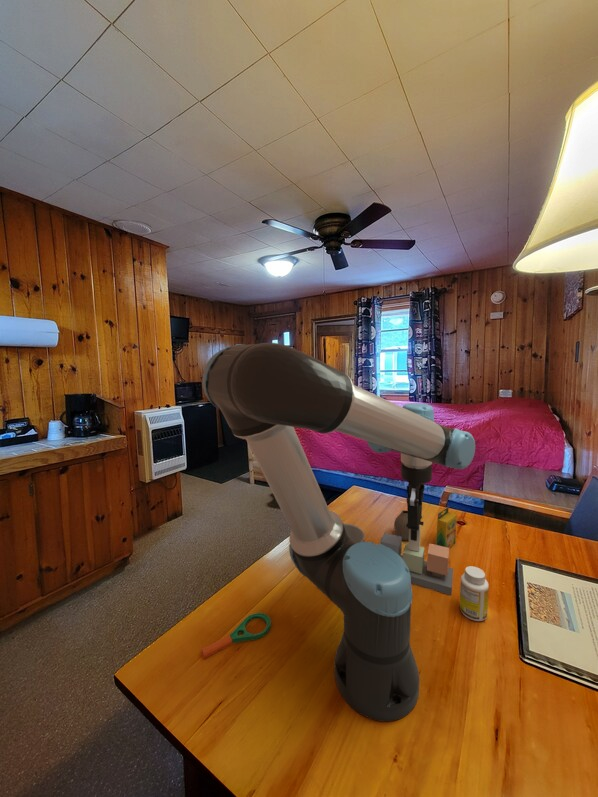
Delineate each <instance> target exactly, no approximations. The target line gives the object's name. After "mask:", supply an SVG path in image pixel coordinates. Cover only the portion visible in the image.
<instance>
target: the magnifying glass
mask: <svg viewBox="0 0 598 797" xmlns="http://www.w3.org/2000/svg"><path fill="white" fill-rule="evenodd" d="M257 619H258V620H263V621H264V622H265V624H266V626H265V628H264V630H262V631H260V632H259V633H250V632H249V631H247V629H246V627H247V625H248V623H249V622H251V621H252V620H257ZM271 627H272V620H271V618H270V617H269V615H267V614H266V613H264V612H256V613H251V614H249V615H248V616H246V617H245V618H244V619H243V620H242V622H240V623H239V625H237V627H236V628H235V629H234V630H233V631H232V632H231V633H230V634H229V635H226V636H224V637H223V638H220V639H218V640H216V641H214V642H213V643H210V644H208V645H206V646H204V647H202V648H201V651H200V652H201V655H202V657H203V659H204V660H205V659H207V658H209V657H212V656H214V655H215V654H216V653H218V652H221V651H222V650H224V649H226V648H227V647H230V646H232V645H233V644H236V643H241V642H246V641H247V642H248V641H255V640H259V639H262V638H263V637H264V636H266V635H268V633H269V632H270V630H271ZM239 634H242V635H239Z"/></svg>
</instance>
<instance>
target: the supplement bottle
mask: <svg viewBox="0 0 598 797" xmlns="http://www.w3.org/2000/svg"><path fill="white" fill-rule="evenodd" d="M489 586H490V585H489V582H488V580H487V579H486V573H485V571H484V570H483V569H481V568H479V567H478V566H473V565H471V566H470V565H468V566H466V567H465V570H464V573H463V574H461V577H460V587H459V609H460V611H461V613H462V614H463V616H465V617H466V618H467V619H469V620H471V621H474V622H482V621H484V620H487V617H488V609H489V608H488V606H489V604H488V603H489V592H490V591H489V590H490V589H489Z"/></svg>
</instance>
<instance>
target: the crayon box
mask: <svg viewBox="0 0 598 797" xmlns="http://www.w3.org/2000/svg"><path fill="white" fill-rule="evenodd" d="M449 509H450V506H447V507H446V508H444V509H443V510H441V511H440V512H438V513H437V520H436V521H437V522H436V538H435V540H436V541H435V545H439V546H443V547H447V548H449V550H450V549H451V548H453V546H454V545H455V544H456V536H457V535H456V534H457V519H458V518H457V517H458V515H457V514H456V513H453V512H450V511H449Z"/></svg>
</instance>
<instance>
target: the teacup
mask: <svg viewBox="0 0 598 797" xmlns="http://www.w3.org/2000/svg"><path fill="white" fill-rule="evenodd" d="M343 525H344V527H345V529H346V532H347V534H348V536H349V537H350V538H351V539H352V540H354V541H355V542H357V543H360V542H365V538H366V537H365V536H366V534H365V532H364V530H363V529H362V528H360V527H358V525H355V524H352V523H345V522H344V523H343Z"/></svg>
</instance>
